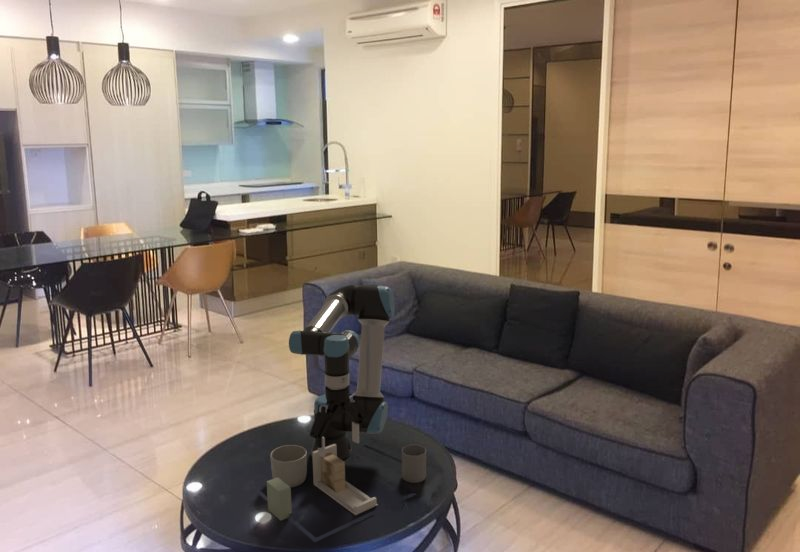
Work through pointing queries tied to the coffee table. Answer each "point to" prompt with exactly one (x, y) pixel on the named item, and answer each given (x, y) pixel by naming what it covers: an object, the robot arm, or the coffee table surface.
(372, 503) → the track
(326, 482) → the oak panel
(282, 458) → the planter
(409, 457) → the cup
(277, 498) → the green panel
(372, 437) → the coffee table surface
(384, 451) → the coffee table surface
